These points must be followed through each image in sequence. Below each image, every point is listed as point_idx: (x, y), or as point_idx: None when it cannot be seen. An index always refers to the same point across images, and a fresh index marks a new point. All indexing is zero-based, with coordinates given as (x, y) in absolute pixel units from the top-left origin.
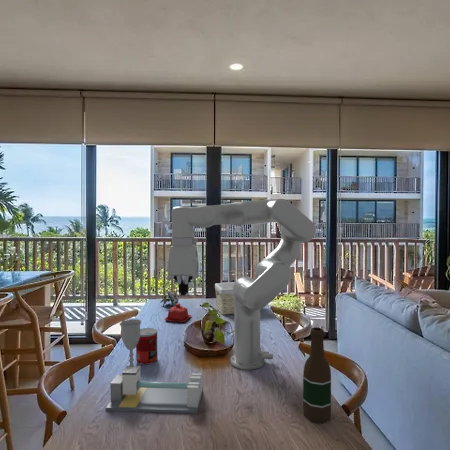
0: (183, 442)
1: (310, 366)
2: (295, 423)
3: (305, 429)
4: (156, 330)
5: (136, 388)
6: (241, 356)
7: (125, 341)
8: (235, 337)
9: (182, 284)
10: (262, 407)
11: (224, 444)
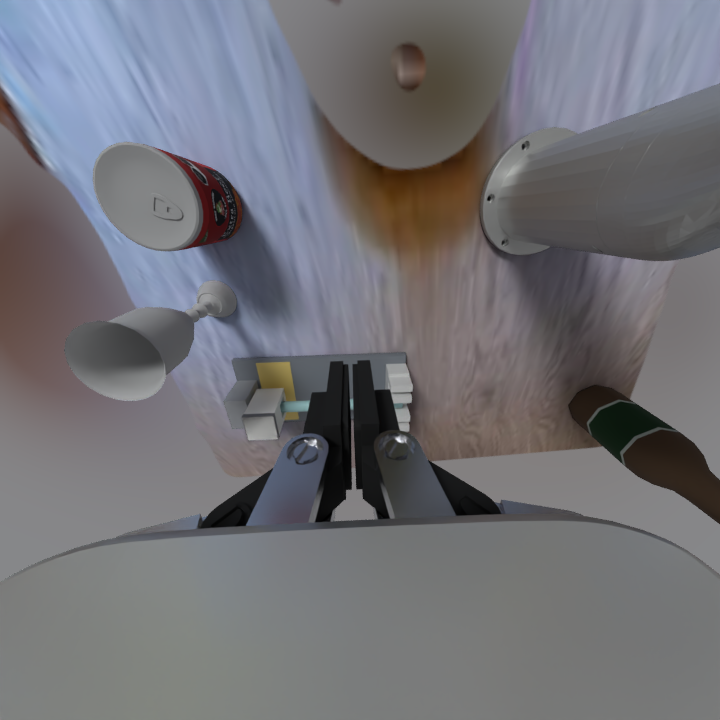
0: None
1: (654, 482)
2: (547, 420)
3: (555, 429)
4: (187, 183)
5: (285, 413)
6: (524, 239)
7: (161, 360)
8: (544, 218)
9: (348, 485)
10: (510, 391)
11: (441, 459)
